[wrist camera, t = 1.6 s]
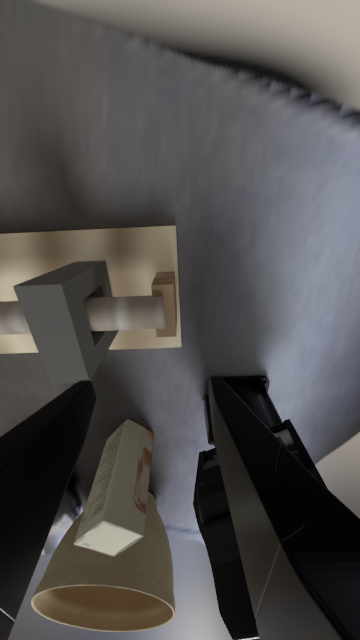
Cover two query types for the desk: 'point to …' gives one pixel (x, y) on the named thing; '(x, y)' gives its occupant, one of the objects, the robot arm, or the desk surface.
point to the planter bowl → (110, 582)
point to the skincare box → (118, 492)
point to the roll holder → (124, 275)
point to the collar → (66, 319)
